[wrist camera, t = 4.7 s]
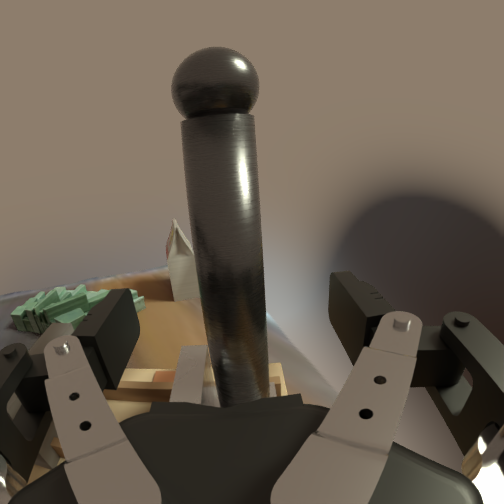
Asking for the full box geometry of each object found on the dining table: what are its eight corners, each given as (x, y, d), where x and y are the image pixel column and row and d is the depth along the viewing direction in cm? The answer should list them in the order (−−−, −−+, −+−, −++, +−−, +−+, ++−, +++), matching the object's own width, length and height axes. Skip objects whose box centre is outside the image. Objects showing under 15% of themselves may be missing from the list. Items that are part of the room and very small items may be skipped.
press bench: (280, 379, 25) (279, 300, 22) (309, 524, 11) (326, 467, 9) (91, 381, 24) (63, 310, 22) (40, 497, 11) (-27, 425, 8)
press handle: (274, 401, 20) (256, 62, 13) (283, 455, 15) (266, 24, 8) (196, 405, 20) (146, 75, 13) (191, 460, 15) (109, 46, 8)
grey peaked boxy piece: (194, 278, 47) (186, 216, 44) (200, 297, 41) (191, 226, 38) (171, 282, 46) (162, 220, 43) (174, 301, 40) (162, 230, 37)
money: (4, 348, 28) (-10, 316, 27) (52, 296, 44) (44, 270, 42) (129, 354, 29) (117, 316, 28) (156, 290, 45) (150, 260, 43)
